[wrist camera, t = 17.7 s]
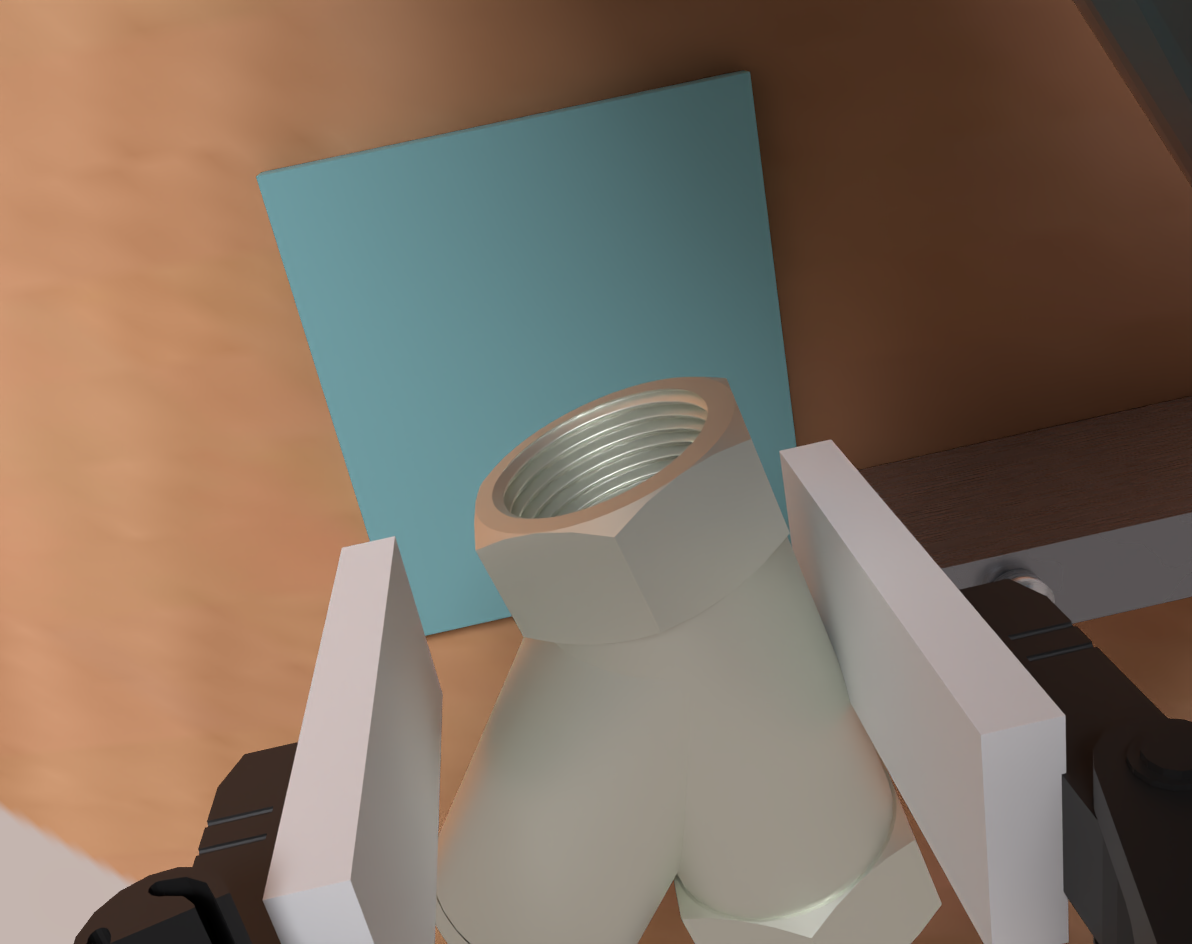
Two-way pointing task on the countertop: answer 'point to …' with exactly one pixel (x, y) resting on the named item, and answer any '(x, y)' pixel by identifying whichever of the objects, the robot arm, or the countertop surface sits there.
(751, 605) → the pipe fitting
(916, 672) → the robot arm
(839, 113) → the countertop surface
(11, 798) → the countertop surface
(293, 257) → the mat
